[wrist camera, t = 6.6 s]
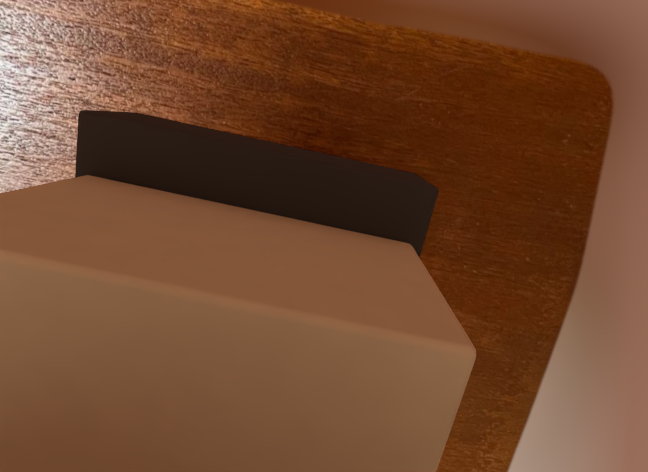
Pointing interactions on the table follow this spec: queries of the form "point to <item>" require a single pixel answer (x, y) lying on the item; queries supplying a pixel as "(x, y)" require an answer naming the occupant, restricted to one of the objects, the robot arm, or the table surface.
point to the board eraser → (222, 310)
